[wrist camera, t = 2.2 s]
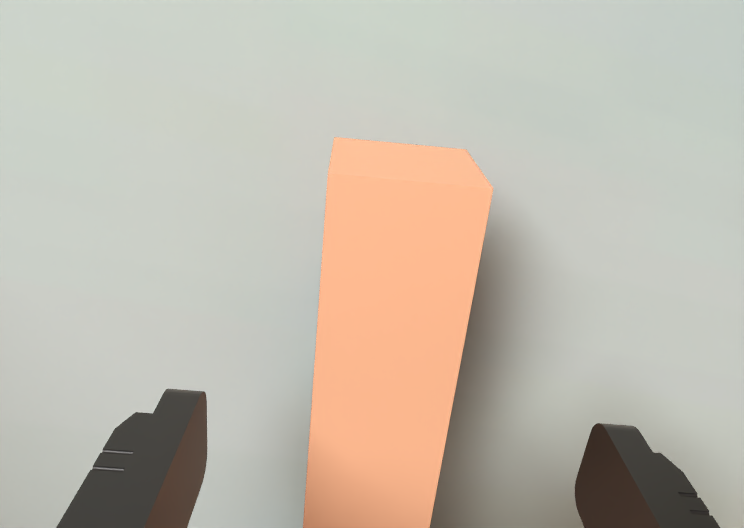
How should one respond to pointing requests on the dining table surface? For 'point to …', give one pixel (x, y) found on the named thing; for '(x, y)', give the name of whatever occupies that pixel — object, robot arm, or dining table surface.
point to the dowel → (390, 328)
